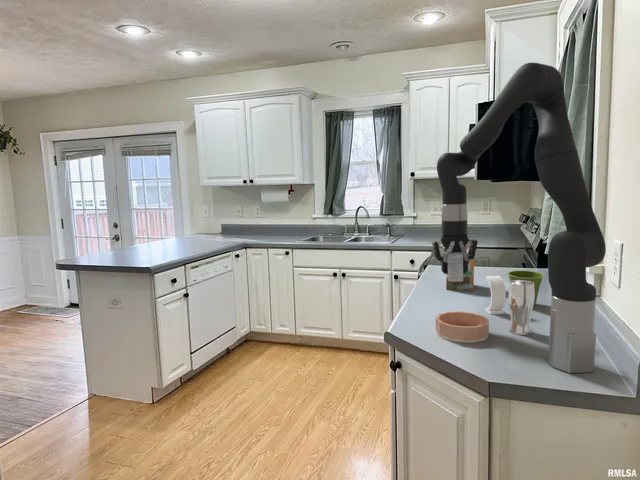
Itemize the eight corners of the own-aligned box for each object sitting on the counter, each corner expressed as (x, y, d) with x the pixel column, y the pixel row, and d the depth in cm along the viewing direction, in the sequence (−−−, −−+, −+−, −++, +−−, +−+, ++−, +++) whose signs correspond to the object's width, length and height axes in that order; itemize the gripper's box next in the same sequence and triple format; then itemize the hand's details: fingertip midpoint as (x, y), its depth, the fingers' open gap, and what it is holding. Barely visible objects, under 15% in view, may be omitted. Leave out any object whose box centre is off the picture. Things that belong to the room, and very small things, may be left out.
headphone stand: (497, 309, 154) (498, 275, 152) (505, 314, 148) (506, 279, 146) (484, 309, 154) (485, 276, 152) (491, 315, 148) (492, 280, 146)
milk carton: (446, 289, 182) (446, 244, 180) (447, 283, 192) (447, 240, 190) (473, 291, 179) (474, 244, 176) (472, 284, 189) (473, 240, 186)
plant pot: (499, 303, 162) (500, 272, 160) (522, 298, 166) (524, 269, 165) (525, 311, 151) (527, 279, 149) (550, 306, 156) (552, 275, 154)
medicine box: (463, 282, 134) (463, 253, 133) (448, 282, 135) (447, 253, 134) (460, 276, 142) (460, 249, 141) (446, 276, 142) (446, 250, 141)
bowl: (496, 341, 125) (497, 326, 124) (445, 344, 124) (446, 328, 123) (475, 324, 139) (476, 310, 139) (430, 326, 139) (430, 312, 138)
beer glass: (511, 326, 137) (513, 278, 135) (535, 330, 133) (537, 281, 130) (504, 332, 132) (505, 283, 130) (529, 337, 127) (531, 286, 125)
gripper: (435, 220, 132) (435, 276, 134) (482, 218, 133) (482, 274, 135) (427, 219, 139) (428, 272, 141) (472, 217, 140) (472, 270, 142)
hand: (454, 273), depth 138 cm, fingers closed on medicine box, 5 cm apart
